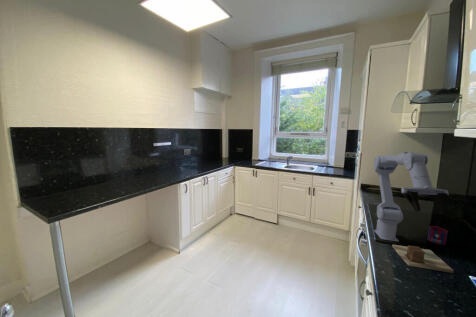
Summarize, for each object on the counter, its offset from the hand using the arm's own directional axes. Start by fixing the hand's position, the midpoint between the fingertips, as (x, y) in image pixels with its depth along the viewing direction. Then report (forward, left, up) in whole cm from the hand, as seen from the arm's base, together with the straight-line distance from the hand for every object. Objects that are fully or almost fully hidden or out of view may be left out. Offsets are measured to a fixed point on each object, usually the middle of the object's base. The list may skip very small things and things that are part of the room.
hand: (429, 212), depth 74 cm
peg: (-7, +2, -25) cm, 26 cm away
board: (-10, +5, -25) cm, 28 cm away
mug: (-31, +23, -26) cm, 47 cm away
